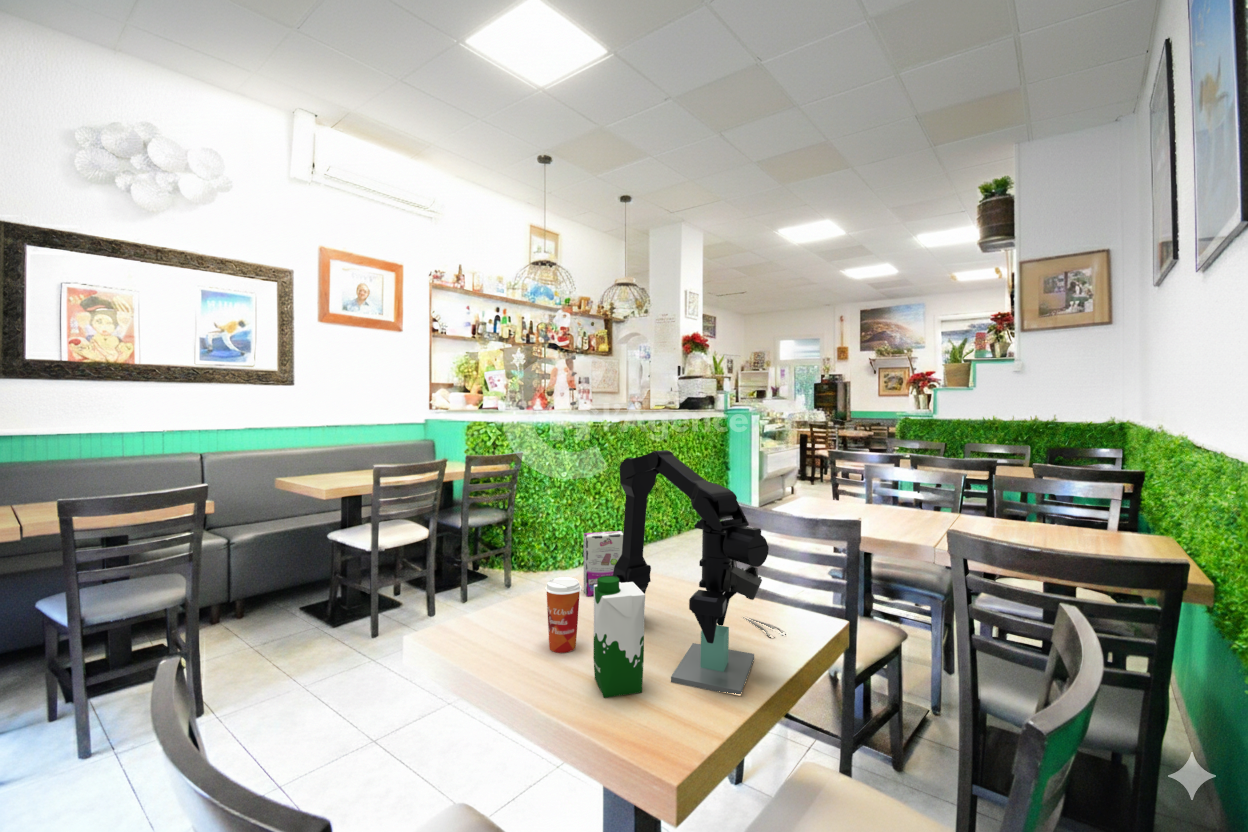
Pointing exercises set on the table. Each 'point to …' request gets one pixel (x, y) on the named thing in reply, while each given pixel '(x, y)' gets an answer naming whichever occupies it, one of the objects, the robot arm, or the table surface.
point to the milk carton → (618, 636)
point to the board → (713, 671)
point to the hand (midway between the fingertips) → (715, 633)
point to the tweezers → (764, 624)
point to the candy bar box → (600, 556)
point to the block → (715, 650)
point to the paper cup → (562, 613)
